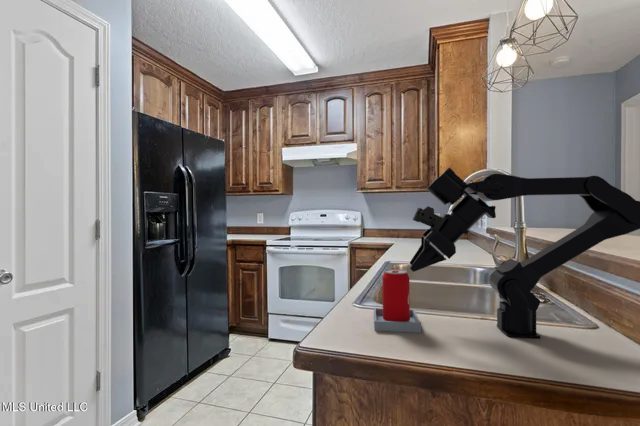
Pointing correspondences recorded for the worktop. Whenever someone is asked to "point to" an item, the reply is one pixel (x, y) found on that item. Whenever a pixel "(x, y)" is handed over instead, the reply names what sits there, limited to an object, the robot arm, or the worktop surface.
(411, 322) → the tray
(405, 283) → the beverage can
